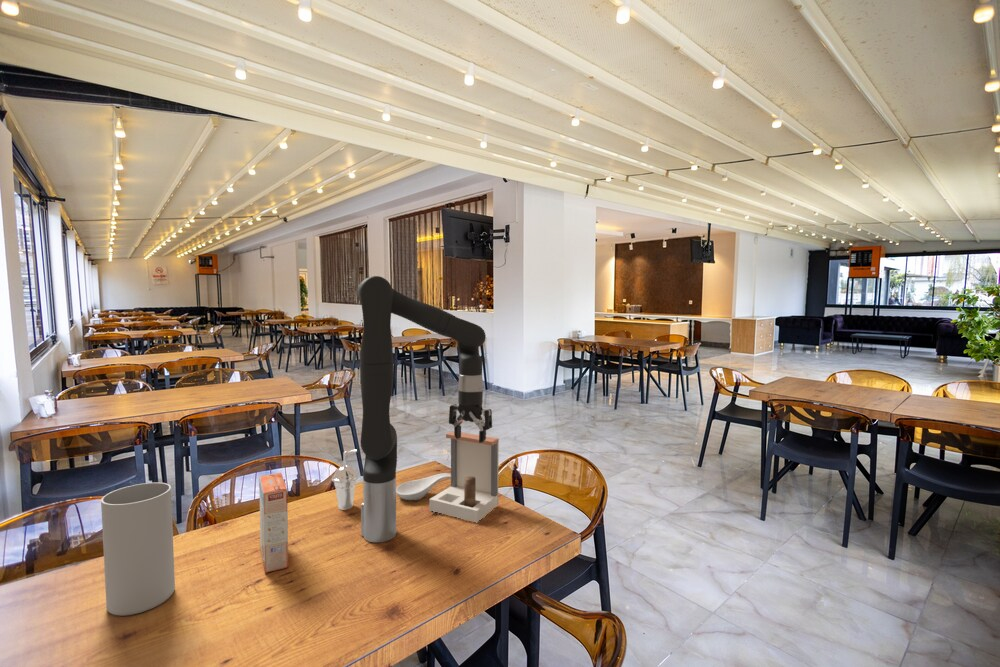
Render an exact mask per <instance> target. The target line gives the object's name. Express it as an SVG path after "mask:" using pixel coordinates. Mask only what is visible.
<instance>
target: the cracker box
mask: <svg viewBox="0 0 1000 667" xmlns="http://www.w3.org/2000/svg"><path fill="white" fill-rule="evenodd" d="M258 483H259V484H258V486H259V487H258V488H259V489H258V490H259V493H258V494H259V536H260V538H259V539H260V540H259V541H260V543H259V544H260V545H259V546H260V547H259V548H260V549H259V550H260V554H261V555H260V556H261V559H262V560H261V561H262V565H263V570H264V573H265V574H267V573H271V572H274V571H279V570H283V569H288V568H289V522H288V521H289V519H288V518H289V517H288V512H289V511H288V509H289V506H288V504H289V503H288V496H289V495H288V493H289V492H288V488H287V485H286V483H285V480H284V477H283V474H282V473H281V472H278V473H277V472H276V473H271V474H265V475H260V476H258Z"/></svg>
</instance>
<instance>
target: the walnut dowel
mask: <svg viewBox="0 0 1000 667" xmlns="http://www.w3.org/2000/svg"><path fill="white" fill-rule="evenodd" d="M475 498H476V478H475V477H472V476H469V477H465V478H464V506H468V507H472V508H473V507H474V506H475Z"/></svg>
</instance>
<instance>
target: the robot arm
mask: <svg viewBox="0 0 1000 667" xmlns="http://www.w3.org/2000/svg"><path fill="white" fill-rule="evenodd" d="M357 286H358V287H357V292H356V296H357V300H359V303H361V310H362V311H361V312H362V321H363V322H362V323H363V328H362V329H363V330H362V337H361V338H362V339H361V342H360V343H361V344H360V352H359V353H360V355H359V376H360V377H359V378H360V392H361V403H362V422H361V434H360V447H361V450H362V453H363V454H364V456H365V458H364V465H363V471H362V483H363V484H362V485H363V486H362V488H363V495H362V496H363V502H362V503H361V504H360V531H361V532H360V535H361V536H362V537H363V538H364V540H365V541H367V542H370V543H383V542H388V541H390V540H392V539H394V538H395V537H396V536H397V493H396V488H397V479H396V478H397V465H398V464H397V462H398V433H397V430H396V428H395V426H394V425H393V424H392V423H391V420H390V405H391V398H392V393H393V386H394V375H395V374H394V373H395V372H394V371H395V370H394V350H393V349H394V348H393V339H392V338H393V337H392V330H391V324H392V314H393V315H395V316H399V317H400V318H404V319H406V320H408V321H410V322H412V323H414V324H416V325H418V326H419V327H422V328H424V329H426V330H428V331H431V332H433V333H435V334H438V335H440V336H443V337H446V338H450V339H452V340H454V341H456V342H457V350H458V355H459V377H458V388H457V389H458V393H457V394H458V396H457V398H458V400H457V401H458V402H457V403H458V404H456V403H454V404H451V405H450V406H449V411H448V412H449V414H448V424H449V425H452V426H453V427H454V430H453V431H454V435H455V438H456V439H459V438H460V437H461V432H462V425H461V424H463V422H470V423H474V424H475V425H476V426H477V427H478V430H479V432H478V435H479V443H483V442H484V441H485V440H486V436H487V431H488V430H490V429H492V428H493V416H492V414H493V412H492V409H491V408H487V409H484V408H483V402H484V398H483V395H484V393H483V392H484V390H483V389H484V384H483V383H484V380H483V359H482V356H481V355H480V351H479V349H480V347H481V346H482V345H483V344H484V343H485V342H486V339H487V338H486V337H487V336H486V332H485V330H484V329H483V328H482V327H481V326H480V325H478V324H476V323H474V322H471V321H468V320H466V319H462V318H459V317H457V316H456V315H454V314H452V313H450V312H447V311H445V310H443V309H441V308H439V307H436V306H434V305H431V304H430V303H429V304H428V303H425V302H422V301H419V300H416V299H414V298H412V297H409V296H407V295H405V294H403V293H400V292H399V291H397V290H396V289H394V288H393V287H392V285H391V283H390V282H389V281H388V280H387V279H386V278H385V277H382V276H379V275H374V276H369V277H366V278H365V279H363V280H362V281H361V282H360V283H359V285H357ZM458 413H459V415H458V417H457V414H458ZM482 415H483V417H484V418H483V417H482Z"/></svg>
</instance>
